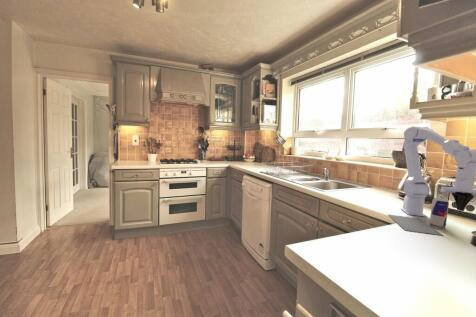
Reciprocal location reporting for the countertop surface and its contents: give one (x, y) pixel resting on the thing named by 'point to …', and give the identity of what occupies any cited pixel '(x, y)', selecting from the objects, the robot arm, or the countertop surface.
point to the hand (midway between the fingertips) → (460, 210)
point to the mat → (414, 225)
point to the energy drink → (439, 213)
